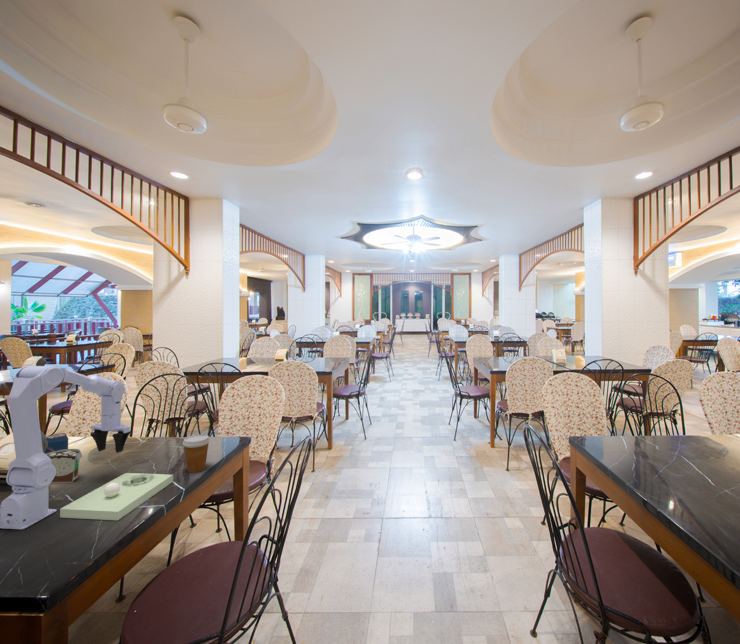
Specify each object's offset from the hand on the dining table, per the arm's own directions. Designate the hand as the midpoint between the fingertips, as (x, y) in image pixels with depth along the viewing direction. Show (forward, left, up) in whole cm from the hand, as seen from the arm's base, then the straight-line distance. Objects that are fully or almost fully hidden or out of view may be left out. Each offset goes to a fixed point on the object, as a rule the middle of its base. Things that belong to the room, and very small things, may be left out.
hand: (110, 451), depth 124 cm
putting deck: (-13, -16, -10) cm, 22 cm away
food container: (-2, +15, -10) cm, 19 cm away
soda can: (+8, +30, -10) cm, 33 cm away
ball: (-17, -16, -5) cm, 23 cm away
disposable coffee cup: (+10, -27, -10) cm, 30 cm away
